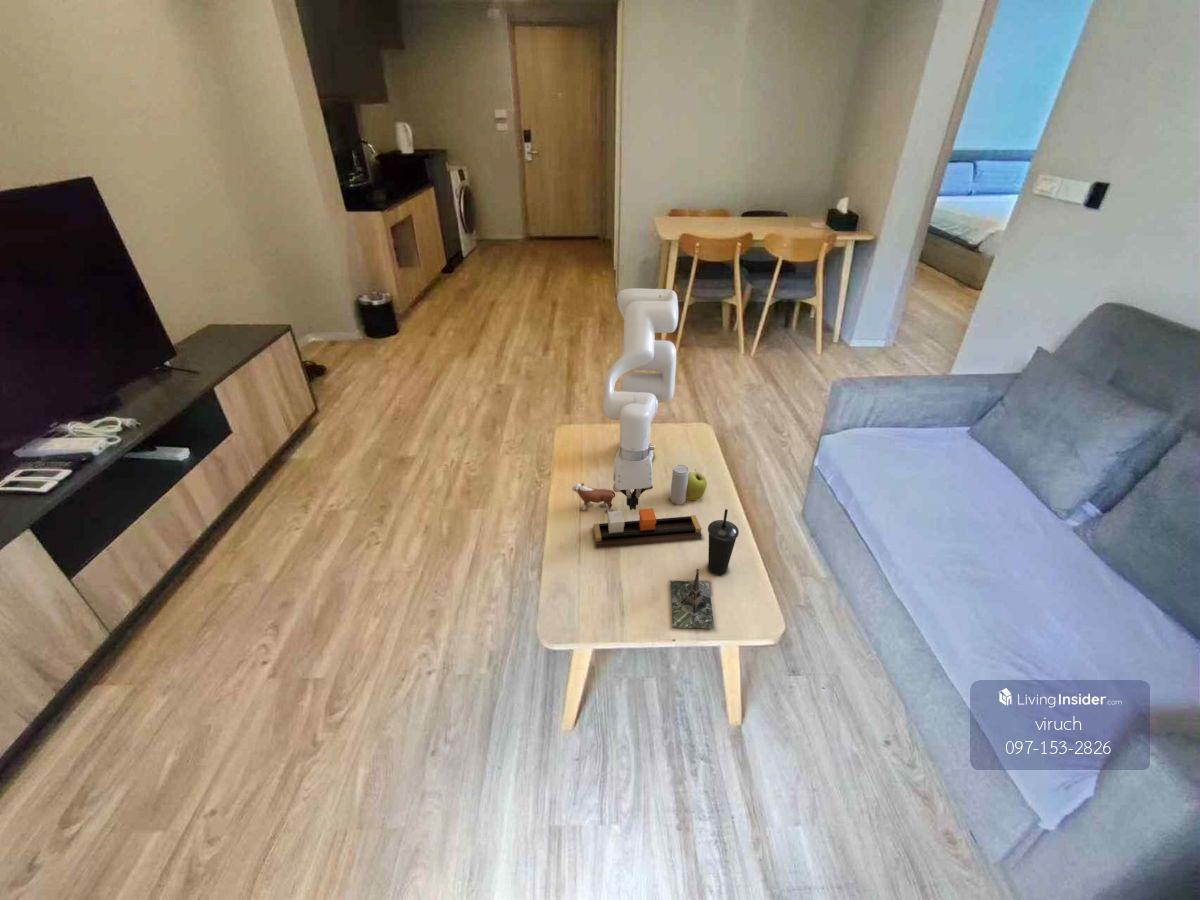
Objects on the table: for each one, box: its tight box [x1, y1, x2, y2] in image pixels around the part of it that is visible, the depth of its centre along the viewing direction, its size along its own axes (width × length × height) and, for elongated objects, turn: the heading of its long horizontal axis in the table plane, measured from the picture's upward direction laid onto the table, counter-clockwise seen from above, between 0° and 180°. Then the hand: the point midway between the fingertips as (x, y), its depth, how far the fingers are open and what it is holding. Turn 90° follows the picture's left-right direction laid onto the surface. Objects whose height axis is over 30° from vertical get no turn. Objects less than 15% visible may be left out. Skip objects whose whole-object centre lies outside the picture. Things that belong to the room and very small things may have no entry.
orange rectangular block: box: [638, 507, 657, 531], centre depth 152 cm, size 5×4×6 cm
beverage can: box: [670, 464, 690, 505], centre depth 164 cm, size 5×5×12 cm
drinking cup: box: [707, 508, 740, 576], centre depth 137 cm, size 8×8×20 cm
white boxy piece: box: [607, 510, 625, 534], centre depth 151 cm, size 5×4×6 cm
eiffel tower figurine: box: [670, 568, 715, 629], centre depth 129 cm, size 15×10×13 cm
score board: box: [592, 522, 702, 549], centre depth 154 cm, size 8×30×2 cm, turn 97°
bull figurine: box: [571, 482, 616, 513], centre depth 162 cm, size 4×13×8 cm, turn 78°
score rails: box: [593, 514, 702, 541], centre depth 153 cm, size 6×30×2 cm, turn 97°
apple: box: [686, 468, 708, 501], centre depth 167 cm, size 8×8×10 cm
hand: (632, 506), depth 148 cm, fingers closed
